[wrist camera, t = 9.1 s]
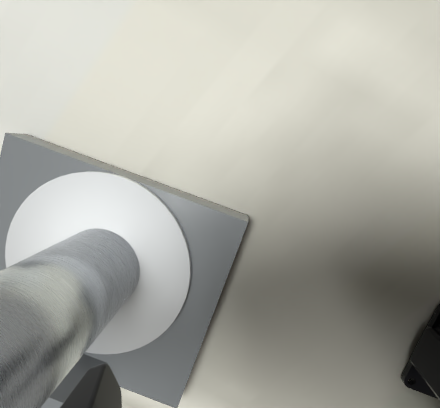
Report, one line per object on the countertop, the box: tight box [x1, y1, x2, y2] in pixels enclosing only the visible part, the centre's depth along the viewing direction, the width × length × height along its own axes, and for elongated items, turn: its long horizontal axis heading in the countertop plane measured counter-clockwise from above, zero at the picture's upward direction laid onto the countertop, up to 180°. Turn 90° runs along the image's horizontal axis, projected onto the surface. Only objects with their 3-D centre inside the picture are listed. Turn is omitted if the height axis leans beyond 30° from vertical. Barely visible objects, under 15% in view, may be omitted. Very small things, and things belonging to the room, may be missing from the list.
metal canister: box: [0, 228, 140, 408], centre depth 15 cm, size 5×5×13 cm
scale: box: [0, 133, 248, 408], centre depth 20 cm, size 16×14×6 cm
